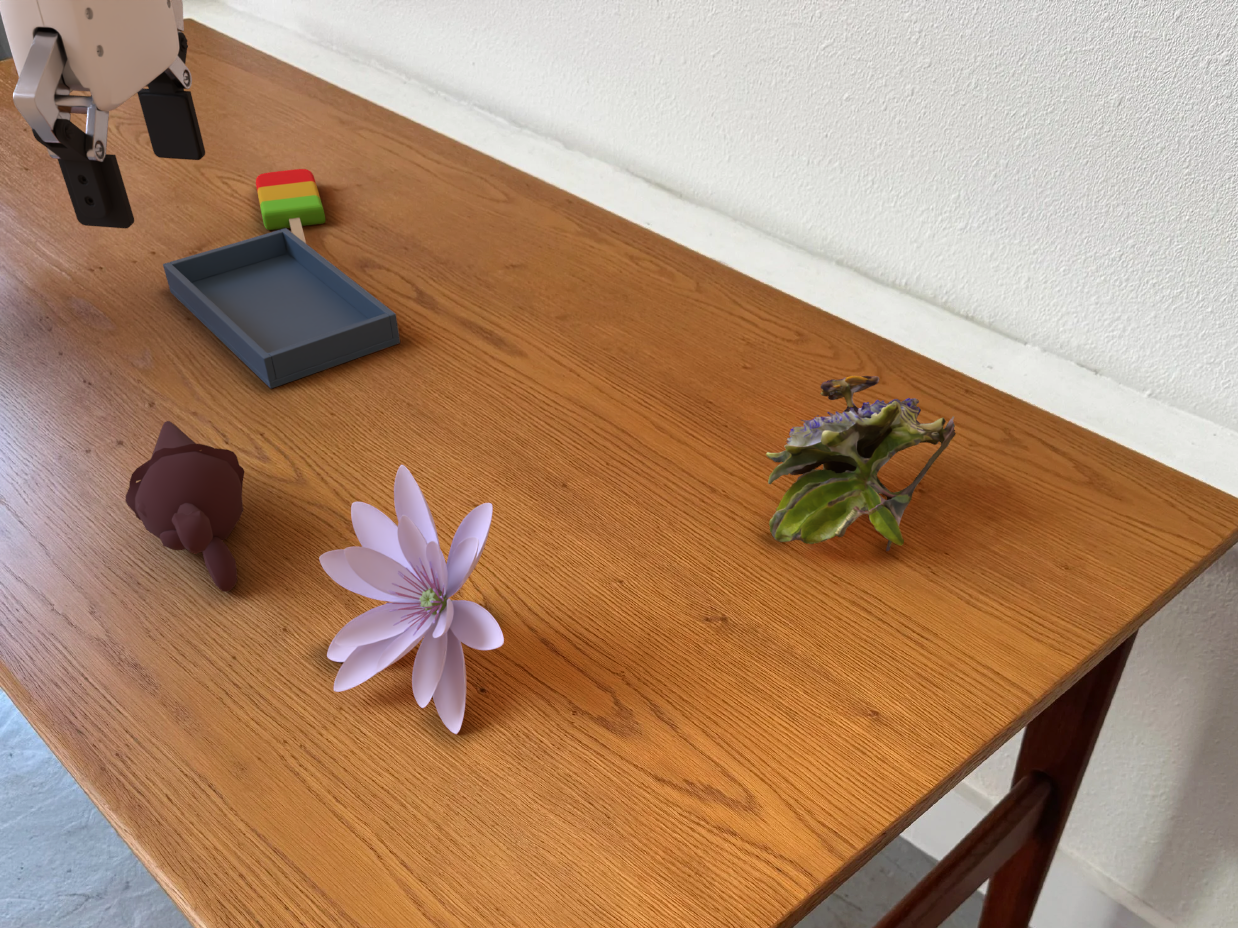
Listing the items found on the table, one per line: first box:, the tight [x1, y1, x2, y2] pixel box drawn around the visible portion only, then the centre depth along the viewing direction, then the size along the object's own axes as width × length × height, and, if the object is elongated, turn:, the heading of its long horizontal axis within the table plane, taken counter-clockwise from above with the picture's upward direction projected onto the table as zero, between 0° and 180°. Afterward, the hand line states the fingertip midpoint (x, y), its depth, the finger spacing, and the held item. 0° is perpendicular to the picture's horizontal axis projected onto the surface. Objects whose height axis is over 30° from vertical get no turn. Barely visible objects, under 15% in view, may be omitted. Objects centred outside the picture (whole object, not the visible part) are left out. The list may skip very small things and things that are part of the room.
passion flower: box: [765, 375, 957, 552], centre depth 79 cm, size 11×11×12 cm
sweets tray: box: [162, 228, 401, 389], centre depth 100 cm, size 11×19×3 cm, turn 38°
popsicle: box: [255, 168, 326, 244], centre depth 113 cm, size 6×15×2 cm, turn 17°
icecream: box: [125, 420, 245, 593], centre depth 78 cm, size 7×7×15 cm
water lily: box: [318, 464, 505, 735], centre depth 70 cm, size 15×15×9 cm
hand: (145, 189), depth 73 cm, fingers open, 9 cm apart
